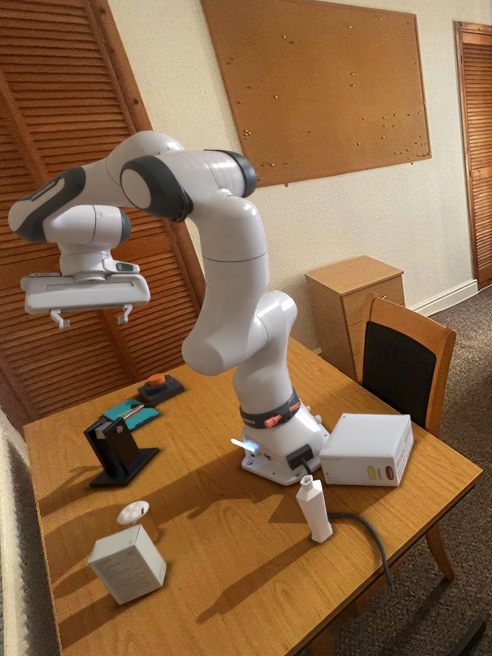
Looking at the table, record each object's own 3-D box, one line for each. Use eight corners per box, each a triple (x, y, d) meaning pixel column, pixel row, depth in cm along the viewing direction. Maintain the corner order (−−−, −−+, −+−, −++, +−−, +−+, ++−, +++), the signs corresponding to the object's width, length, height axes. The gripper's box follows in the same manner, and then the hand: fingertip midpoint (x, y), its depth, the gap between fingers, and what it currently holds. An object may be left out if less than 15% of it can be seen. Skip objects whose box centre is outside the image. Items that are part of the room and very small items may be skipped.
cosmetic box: (167, 565, 76) (143, 521, 71) (162, 588, 72) (136, 544, 67) (124, 582, 73) (96, 539, 68) (116, 607, 69) (86, 563, 65)
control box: (185, 390, 122) (180, 380, 120) (152, 406, 116) (147, 395, 114) (171, 379, 127) (166, 369, 125) (139, 394, 121) (134, 383, 119)
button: (167, 381, 120) (165, 375, 119) (153, 388, 117) (150, 382, 117) (162, 377, 122) (160, 371, 121) (148, 384, 119) (145, 378, 118)
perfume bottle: (327, 517, 84) (312, 465, 78) (338, 530, 81) (323, 477, 75) (305, 534, 81) (288, 481, 75) (316, 548, 78) (299, 494, 72)
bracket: (127, 452, 100) (104, 409, 95) (160, 450, 101) (139, 407, 95) (90, 488, 91) (63, 442, 86) (127, 486, 92) (101, 440, 86)
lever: (135, 409, 102) (133, 400, 101) (157, 408, 102) (155, 399, 101) (89, 439, 90) (86, 429, 89) (114, 438, 90) (112, 428, 90)
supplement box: (325, 485, 91) (316, 455, 87) (349, 440, 103) (342, 411, 99) (398, 487, 90) (393, 457, 86) (414, 441, 102) (410, 413, 99)
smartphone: (132, 397, 118) (160, 412, 112) (133, 399, 118) (161, 414, 112) (100, 413, 112) (129, 430, 106) (102, 416, 112) (130, 432, 106)
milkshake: (149, 554, 77) (129, 519, 74) (127, 549, 78) (106, 514, 75) (172, 531, 82) (154, 497, 78) (151, 526, 83) (132, 492, 79)
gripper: (20, 267, 86) (24, 328, 83) (147, 265, 102) (155, 316, 99) (19, 279, 89) (24, 338, 86) (142, 275, 106) (150, 324, 102)
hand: (95, 326), depth 93 cm, fingers open, 8 cm apart
